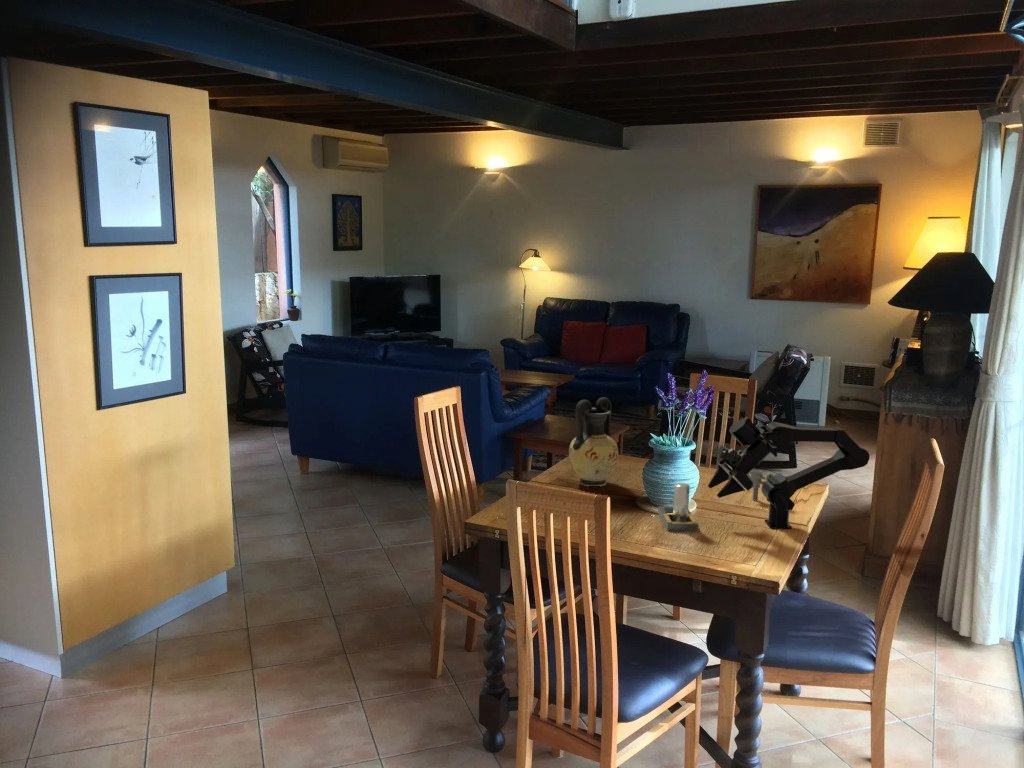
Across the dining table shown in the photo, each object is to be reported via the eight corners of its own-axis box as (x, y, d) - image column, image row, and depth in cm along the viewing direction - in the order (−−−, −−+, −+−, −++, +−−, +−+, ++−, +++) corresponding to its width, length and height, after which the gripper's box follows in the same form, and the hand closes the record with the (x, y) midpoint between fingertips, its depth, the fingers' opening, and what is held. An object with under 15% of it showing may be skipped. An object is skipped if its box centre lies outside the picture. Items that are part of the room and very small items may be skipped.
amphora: (589, 473, 303) (592, 391, 298) (627, 483, 292) (631, 399, 287) (557, 482, 291) (559, 398, 286) (595, 494, 279) (598, 405, 274)
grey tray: (697, 531, 246) (698, 523, 246) (667, 530, 246) (667, 523, 246) (686, 513, 262) (686, 505, 262) (657, 512, 262) (658, 505, 262)
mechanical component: (768, 504, 272) (770, 474, 270) (738, 498, 278) (740, 469, 276) (771, 502, 274) (774, 472, 272) (741, 496, 280) (743, 467, 279)
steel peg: (689, 527, 249) (692, 487, 247) (676, 528, 248) (678, 487, 246) (683, 522, 253) (685, 482, 251) (670, 523, 252) (672, 483, 250)
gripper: (724, 429, 256) (687, 464, 257) (744, 445, 238) (704, 482, 239) (748, 454, 258) (711, 489, 259) (770, 471, 240) (729, 509, 241)
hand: (713, 491), depth 250 cm, fingers open, 9 cm apart
